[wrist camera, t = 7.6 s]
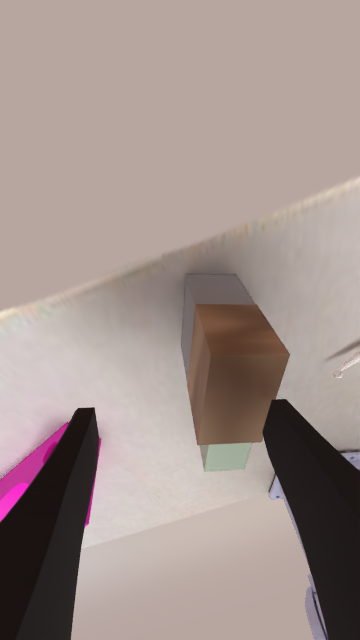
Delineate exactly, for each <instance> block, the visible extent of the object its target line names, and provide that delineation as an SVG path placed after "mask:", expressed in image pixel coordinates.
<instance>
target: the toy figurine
mask: <svg viewBox="0 0 360 640" xmlns="http://www.w3.org/2000/svg"><path fill="white" fill-rule="evenodd" d="M355 354H356V355H354V356H353V357H352V358H351V359H349V360H348V361H346V362H345V363H344V364H343V365H342V366H341V367H340V368H338V369H337V370H336V371H335V372H334V374H333V376H335V377H336V378H341V377H342V375H343V372H341V371H342V370H344V369H346V368H348V367H350V366H352V365H354V364H356V363H358V362H360V352H357V353H355Z"/></svg>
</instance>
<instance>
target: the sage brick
mask: <svg viewBox="0 0 360 640" xmlns="http://www.w3.org/2000/svg"><path fill="white" fill-rule="evenodd" d="M251 445H252V443H234V444H214V445H200V450H201V456H202V461H203V467H204V472H210V471H225V470H240V469H245V466H246V463H247V459H248V456H249V452H250V449H251Z"/></svg>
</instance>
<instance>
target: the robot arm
mask: <svg viewBox="0 0 360 640" xmlns="http://www.w3.org/2000/svg"><path fill="white" fill-rule="evenodd" d="M262 433H263V437H264V441H265V445H266V448H267V451H268V455H269V458H270V460H271V463H272V465H273V468H274V470H275V473H276V477H275V480H274V482H273V485H272V488H271V490H270V493H269V498H270V499H284V502H285V504H286V507H287V510H288V512H289V514H290V517H291V520H292V523H293V525H294V528H295V530H296V533H297V535H298V538H299V541H300V544H301V546H302V549H303V551H304V554H305V557H306V559H307V562H308V565H309V568H310V571H311V574H309V575H308V578H309V581H310V584H311V587H308V588H307V591H306V598H305V607H306V612H307V617H308V621H309V624H310V628H311V630H312V634H313V637H314V639H315V640H360V452H351V453H339V452H338V451H337V450H336V449H335V448H334V447H333V446H332V445H331V444H330V443H329V442H328V441H326V440H325V439H324V438H323V437H322V436H321V435H320V434H319V433H318V432H317V431H316V430H315V429H314V428H313V427H312V426H311V425H310V424H309V423H308V422H307V421H306V420H305V418H304V417H303V416H302V415H301V414H300V413H299V412H298V411H297V410H296V409H295V408H294V407H293V406H292V405H291V404H290V403H289V402H288V401H287V400H286V399H277V400H271V404H270V407H269V411H268V414H267V417H266V421H265V424H264V428H263V431H262ZM98 451H99V435H98V428H97V421H96V415H95V408H94V407H93V408H78V409H77V410H76V411H75V413H74V415H73V417H72V419H71V421H70V422H69V424H68V426H67V428H66V430H65V431H64V433H63V435H62V436H61V438H60V440H59V442H58V443H57V445H56V446H55V448H54V449H53V451H52V453H51V454H50V456H49V457H48V459H47V460H46V462H45V463H44V465H43V466H42V468H41V469H40V471H39V472H38V473H37V475H36V476H35V478H34V479H33V481H32V482H31V483H30V485H29V486H28V488H27V489H26V490H25V492H24V493H23V494H22V496H21V497H20V498H19V499H18V501H17V502H16V503H15V504H14V506H13V507H12V508H11V509H10V511H9V512H8V513H7V514H6V516H5V517H4V518H3V519H2V520H1V522H0V640H71V631H72V621H73V611H74V602H75V594H76V585H77V576H78V568H79V560H80V552H81V544H82V539H83V533H84V528H85V523H86V518H87V513H88V508H89V503H90V499H91V494H92V489H93V484H94V479H95V474H96V469H97V461H98Z"/></svg>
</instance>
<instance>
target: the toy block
mask: <svg viewBox="0 0 360 640" xmlns="http://www.w3.org/2000/svg"><path fill="white" fill-rule="evenodd" d="M68 424H69V423H68V422H67V423H66V424H65V425H64V426H62V427H61V428H60V429H59V430H58V431H57V432H55V433H54V434H53V435H52V436H51V437H50V438H49V439H47V440H46V441H45V442H44V443H43V444H42V445H40V446H39V447H38V448H37V449H36V450H35V451H33V452H32V453H31V454H30V455H29V456H28V457H27V458H25V459H24V460H23V461H22V462H21V463H20V464H18V465H17V466H16V467H15V468H14V469H13V470H11V471H10V472H9V473H8V474H7V475H6V476H4V477H3V478H2V479H1V480H0V522H1V520H2V519H3V518H4V517H5V516H6V514H7V513H8V512H9V511H10V509H11V508H12V507H13V506H14V504H15V503H16V502H17V501H18V499H19V498H20V497H21V496H22V494H23V493H24V492H25V490H26V489H27V488H28V486H29V485H30V483H31V482H32V481H33V479H34V478H35V476H36V475H37V473H38V472H39V471H40V469H41V468H42V466H43V465H44V463H45V462H46V460H47V459H48V457H49V456H50V454H51V453H52V451H53V449H54V448H55V446H56V445H57V443H58V442H59V440H60V438H61V436H62V435H63V433H64V431H65V430H66V428H67V426H68ZM100 444H101V439H100V438H99V450H100ZM98 457H99V451H98ZM97 464H98V461H97ZM96 471H97V469H96ZM95 477H96V474H95ZM94 484H95V479H94ZM94 484H93V489H92V494H91V499H90V503H89V508H88V513H87V518H86V523H85V526H86V525H88V524H89V518H90V511H91V504H92V498H93V491H94Z"/></svg>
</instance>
